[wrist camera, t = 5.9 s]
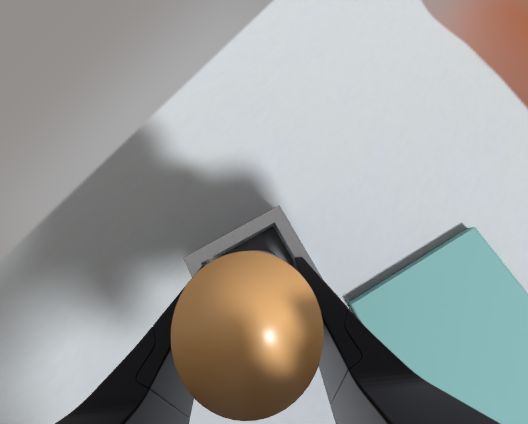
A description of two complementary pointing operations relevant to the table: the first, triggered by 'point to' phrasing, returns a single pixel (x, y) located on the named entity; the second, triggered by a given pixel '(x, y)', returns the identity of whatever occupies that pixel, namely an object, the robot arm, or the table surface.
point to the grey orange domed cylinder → (247, 335)
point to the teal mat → (457, 325)
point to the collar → (248, 232)
